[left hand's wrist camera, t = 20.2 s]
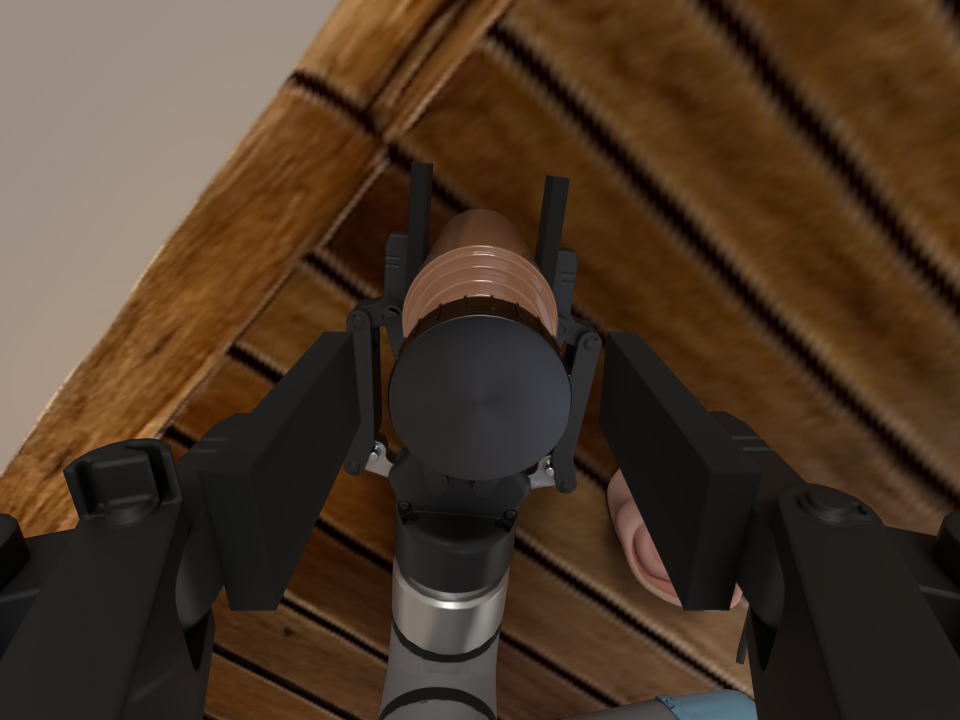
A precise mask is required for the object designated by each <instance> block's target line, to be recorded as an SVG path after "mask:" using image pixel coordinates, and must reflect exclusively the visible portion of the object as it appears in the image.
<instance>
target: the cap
mask: <svg viewBox="0 0 960 720" xmlns="http://www.w3.org/2000/svg"><path fill="white" fill-rule="evenodd" d="M561 354H562V352H561V350H560V347H559V345H558V343H557V340H556V338H555V336H554V335H551V334H550V332H549V331H548V329H547V328H546V327H545V326H544V325H543V323H542V322H541V319H540V317H539V316H537V317H535V316H534V315H533V314H532V313H530V312H529V311H527V310H526V309H524V308H523V307H520V306H519V303H517V302H516V303H515V304H514V303H512V302H509V301H506V300H503V299H498V298H494V296H493V295H490V297H481V296H479V297H467V295H466V296H464V298H462V299H457V300H454V301H451V302H448V303H446V304H443V305H442V303H440V304H439V306H438V307H437V308H436V309H434V310H433V311H431V312H430V313H428V314H427V315H426V316H425V317H423V318H421V317H420V318H419V319H418V321H417V324H416V326H415V327H414V328H413V329H412V331H411V332H410V334H409V335H408V337H404V339H403V342H402V344H401V346H400V349H399V351H398V353H397V356H398V359H397V360H396V362H395V365H394V367H393V369H392V372H391V374H390V377H389V380H390V382H389V388H388V406H389V413H390V417H391V420H392V424H393V426H394V428H395V430H396V433H397V435H398V436H399V438H400V439H401V441H402V443H403V444H404V445H405V446H406V448H407V449H408V450H409V451H410V452H411V453H412V454H413V455H414V456H415V457H416V458H417V459H418V460H420V461H421V462H423V463H424V464H425V465H427V466H428V467H430V468H432V469H434V470H436V471H438V472H440V473H442V474H445V475H448V476H451V477H454V478H458V479H464V480H473V481H487V480H496V479H502V478H505V477H509V476H512V475H515V474H517V473H520V472H522V471H524V470H526V469H528V468H530V467H531V466H533V465H535V464H536V463H537V462H539V461H540V460H541V459H543V458H544V457H545V456H546V455H547V454H548V453H549V452H550V451H551V450H552V449H553V447H554V446H555V445H556V444H557V442H558V441H559V439H560V437H561V436H562V434H563V432H564V430H565V428H566V426H567V423H568V420H569V416H570V412H571V405H572V390H571V383H570V379H569V378H571V376H570V373H569V371H568V369H567V366H566V364H565V362H564V359H563V357H561Z"/></svg>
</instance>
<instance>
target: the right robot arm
mask: <svg viewBox="0 0 960 720" xmlns="http://www.w3.org/2000/svg"><path fill="white" fill-rule="evenodd" d="M432 175H433V164H432V163H422V162H411V182H410V205H409V227H408V232H403V231H394V232H392V233H391V234H390V236H389V238H388V240H387V243H386V251H385V255H386V256H385V286H384V295H383V296H380V297H377V298H374V299H363V300H361V301H360V302H359V303H358V304H357V305H356V307H355V308H354V309H353V310H352V311H351V312H350V314H349V315H348V317H347V321H346V324H347V332H353V341H354V352H355V362H356V373H357V383H358V394H359V404H360V414H361V424H360V426H359V428H358V431H357V433H356V435H355V437H354V439H353V442H352V444H351V446H350V449H349V451H348V454H347V457H346V459H345V462H344V470H345V471H346V472H347V473H348V474H350V475H353V476H357V475H360V474H362V473H363V471H364V470H368V471H371V472H374V473H377V474H380V475H383V476H386V477H388V481H389V484H390V486H391V488H392V489H393V491H394V493H395V496H396V516H395V538H394V552H395V557H394V561H393V586H392V625H391V637H390V650H389V660H388V667H387V674H386V679H385V685H384V690H383V696H382V701H381V706H380V712H379V718H378V720H497V707H496V660H497V651H498V641H499V632H500V627H501V622H502V616H503V612H504V606H505V600H506V593H507V587H508V580H509V572H510V562H511V559H512V553H513V546H514V539H515V533H516V526H517V520H518V513H519V509H520V506H521V504H522V503H523V502H524V500H525V499H526V498H527V497H528V496H529V494H530V491H531V489H536V488H542V487H548V486H554V485H556V488H557V490H558V491H559V492H561V493H570V492H572V491H574V490H575V488H576V486H577V482H576V475H575V469H574V463H573V456H574V452H575V448H576V444H577V440H578V436H579V432H580V428H581V424H582V420H583V416H584V412H585V408H586V405H587V401H588V397H589V393H590V389H591V385H592V381H593V377H594V373H595V369H596V365H597V361H598V357H599V353H600V349H601V344H602V341H601V338H600V336H599V335H598V333H597V332H596V331H595V329H594V328H593V326H592V325H591V323H590V322H589V321H588V320H585V319H580V318H578V317H575V316H573V315H572V314H571V304H572V298H573V292H574V286H575V280H576V274H577V268H578V260H577V255H576V252H575V251H574V250H573V249H572V248H564V247H559V246H560V240H561V233H562V227H563V220H564V214H565V207H566V200H567V194H568V187H569V181H570V179H569V178H564V177H557V176H548V175H546V181H545V189H544V196H543V203H542V211H541V218H540V225H539V233H538V240H537V247H536V255H535V261H536V263H537V264H538V266H539V268H540V270H541V272H542V273H543V275H544V277H545V279H546V281H547V282H548V284H549V286H550V288H551V291H552V293H553V295H554V299H555V302H556V306H557V313H558V326H557V335H556V340H557V343H558V345H559V347H560V348H561V346H562V344H563V342H566V343H567V347H566V352H565V356H564V362H565V364H566V366H567V369H568V371H569V373H570V376H571V378H569V379H570V383H571V390H572V405H571V412H570V416H569V420H568V423H567V426H566V428H565V430H564V432H563V434H562V436H561V437H560V439H559V441H558V442H557V444H556V445H555V446H554V447H553V449H552V450H551V451H550V452H549V453H548V454H547V455H546V456H545V457H544V458H543V459H541V460H540V461H539V462H537V463H536V464H535V465H533V466H531V467H530V468H528V469H526V470H524V471H522V472H520V473H517V474H515V475H512V476H509V477H505V478H502V479H496V480H487V481H473V480H464V479H458V478H454V477H451V476H448V475H445V474H442V473H440V472H438V471H436V470H434V469H432V468H430V467H428V466H427V465H425V464H424V463H423V462H421V461H420V460H418V459H417V458H416V457H415V456H414V455H413V454H412V453H411V452H410V451H409V450H408V449H407V448H406V446H405V447H404V448H403V449H402V450H401V451H400V452H399V453H398V454H397V455H396V456H395V455H393V454H392V453H390V451H389V449H388V439H387V438H386V437H385V434H384V433H382V432H379V430H380V426H381V420H382V400H381V366H380V332H379V326H382V325H385V326H386V330H387V334H388V337H389V341H390V344H391V348H392V351H393V355H394V359H395V362H396V360H397V359H398V356H397V353H398V351H399V349H400V346H401V344H402V342H403V339H404V336H403V327H402V312H403V305H404V302H405V298H406V295H407V293H408V290H409V288H410V286H411V284H412V282H413V280H414V279H415V277H416V275H417V273H418V271H419V270H420V268H421V266H422V264H423V262H424V261H425V259H426V257H427V255H428V243H429V226H430V209H431V192H432ZM557 720H758V719H757V712H756V705H755V703H754V702H753V701H752V700H751V699H750V698H748V697H747V696H746V695H744V694H742V693H740V692H738V691H734V690H728V689H726V690H718V691H711V692H704V693H697V694H689V695H682V696H675V697H668V696H665V695H662V696H661V695H658V696H656V697H655V699H651V700H646V701H642V702H637V703H633V704H628V705H624V706H619V707H615V708H611V709H606V710H602V711H597V712H593V713H588V714H584V715H579V716H575V717H570V718H566V719H557Z"/></svg>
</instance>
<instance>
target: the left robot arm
mask: <svg viewBox="0 0 960 720" xmlns="http://www.w3.org/2000/svg"><path fill="white" fill-rule="evenodd" d="M360 424H361V414H360V404H359V394H358V383H357V373H356V362H355V352H354V341H353V332H324V333H323V334H322V335H321V336H320V337H319V338H318V339H317V340H316V342H315V343H314V344H313V345H312V346H311V347H310V348H309V349H308V350H307V351H306V353H305V354H304V355H303V356H302V357H301V358H300V359H299V360H298V361H297V362H296V364H295V365H294V366H293V367H292V368H291V369H290V370H289V371H288V372H287V373H286V375H285V376H284V377H283V378H282V379H281V380H280V381H279V382H278V383H277V384H276V386H275V387H274V388H273V389H272V390H271V391H270V392H269V393H268V394H267V395H266V397H265V398H264V399H263V400H262V401H261V402H260V403H259V404H258V405H257V406H256V408H255V409H254V410H253V411H252V412H251V413H235V414H234V415H232V416H230V417H228V418H226V419H224V420H223V421H221V422H219V423H217V424H215V425H214V426H213V427H212V428H211V429H210V430H209V431H208V432H207V433H206V434H205V435H204V436H203V437H202V438H201V441H198V442H197V443H196V444H195V445H194V446H193V447H192V448H191V449H190V450H189V453H186V454H185V455H184V456H183V457H182V458H181V459H180V460H179V461H178V462H177V463H176V464H175V462H174V458H173V454H172V450H171V446H170V445H169V444H167V443H166V442H164V441H163V440H158V439H151V438H143V439H130V440H126V441H121V442H117V443H112V444H109V445H106V446H103V447H100V448H98V449H95V450H92V451H90V452H88V453H86V454H84V455H83V456H81V457H79V458H77V459H75V460H73V461H72V462H71V463H70V464H69V465H68V466H67V467H66V468H65V469H64V470H63V473H64V476H65V479H66V482H67V484H68V487H69V490H70V493H71V496H72V499H73V502H74V505H75V507H76V510H77V513H78V516H79V519H80V520H79V522H78V523H77V525H76V527H75V529H70V530H65V531H60V532H55V533H50V534H44V535H39V536H34V537H29V538H24V537H23V534H22V532H21V529H20V527H19V524H18V522H17V519H15V518H14V517H12V516H10V515H9V514H0V720H203V714H204V706H205V699H206V692H207V685H208V678H209V671H210V664H211V657H212V650H213V643H214V636H215V629H216V628H215V621H214V616H213V612H212V608H211V605H212V604H213V602H214V600H215V599H216V597H217V595H218V594H219V592H220V590H221V589H222V587H223V585H225V589H226V594H227V598H228V602H229V606H230V610H276V609H277V607H278V605H279V603H280V600H281V598H282V596H283V594H284V592H285V589H286V587H287V585H288V583H289V581H290V578H291V576H292V574H293V572H294V570H295V567H296V565H297V563H298V561H299V558H300V556H301V554H302V552H303V550H304V547H305V545H306V543H307V541H308V539H309V536H310V534H311V532H312V530H313V528H314V525H315V523H316V521H317V519H318V517H319V514H320V512H321V510H322V508H323V506H324V503H325V501H326V499H327V497H328V495H329V492H330V490H331V488H332V486H333V484H334V481H335V479H336V477H337V475H338V473H339V470H340V468H341V466H342V464H343V462H344V459H345V457H346V455H347V453H348V451H349V448H350V446H351V444H352V442H353V439H354V437H355V435H356V433H357V431H358V428H359V426H360ZM599 424H600V426H601V428H602V431H603V433H604V435H605V437H606V439H607V442H608V444H609V446H610V448H611V451H612V453H613V455H614V457H615V459H616V462H617V464H618V466H619V468H620V470H621V473H622V475H623V477H624V479H625V481H626V484H627V486H628V488H629V490H630V492H631V495H632V497H633V499H634V501H635V503H636V506H637V508H638V510H639V512H640V514H641V517H642V519H643V521H644V523H645V525H646V528H647V530H648V532H649V534H650V536H651V539H652V541H653V543H654V545H655V547H656V550H657V552H658V554H659V556H660V558H661V561H662V563H663V565H664V567H665V570H666V572H667V574H668V576H669V578H670V581H671V583H672V585H673V587H674V589H675V592H676V594H677V596H678V598H679V600H680V603H681V605H682V607H683V609H684V610H730V606H731V602H732V598H733V594H734V589H735V585H736V583H737V584H738V586H739V588H740V589H741V591H742V593H743V594H744V596H745V598H746V599H747V601H748V603H749V608H748V612H747V616H746V619H745V623H744V627H743V631H742V635H741V639H740V643H739V647H738V651H737V657H736V663H740V664H744V660H745V656H746V653H747V652H748V656H749V663H750V670H751V677H752V684H753V691H754V698H755V705H756V712H757V719H758V720H960V511H953V512H952V513H950V514H948V515H947V516H945V517H944V519H943V522H942V524H941V527H940V529H939V532H938V534H937V536H934V535H929V534H923V533H918V532H913V531H908V530H902V529H897V528H892V527H887V526H884V524H883V522H882V521H881V519H880V518H879V516H878V515H877V514H876V513H875V512H874V511H873V510H872V509H871V508H870V507H869V506H867V505H866V504H864V503H863V502H861V501H860V500H858V499H857V498H855V497H853V496H851V495H849V494H846V493H844V492H842V491H839V490H837V489H834V488H830V487H826V486H822V485H819V484H810V483H806V482H805V481H804V480H803V479H802V478H801V477H800V476H799V475H798V474H797V473H796V472H795V471H794V470H793V469H792V468H791V467H790V466H789V465H788V464H787V463H786V462H785V461H784V460H783V459H782V458H781V457H780V456H779V455H778V454H777V453H776V452H775V451H771V447H770V446H769V445H768V444H767V443H766V442H765V441H764V440H763V439H760V436H759V435H758V434H756V433H755V432H754V431H753V430H752V429H751V428H750V427H749V426H748V425H747V424H746V423H745V422H743V421H741V420H739V419H737V418H736V417H734V416H732V415H730V414H728V413H726V412H708V411H707V410H706V409H705V408H704V406H703V405H702V404H701V403H700V402H699V401H698V400H697V399H696V398H695V397H694V395H693V394H692V393H691V392H690V391H689V390H688V389H687V388H686V387H685V386H684V384H683V383H682V382H681V381H680V380H679V379H678V378H677V377H676V376H675V375H674V373H673V372H672V371H671V370H670V369H669V368H668V367H667V366H666V365H665V364H664V362H663V361H662V360H661V359H660V358H659V357H658V356H657V355H656V354H655V353H654V351H653V350H652V349H651V348H650V347H649V346H648V345H647V344H646V343H645V342H644V340H643V339H642V338H641V337H640V336H639V335H638V334H637V333H636V332H607V341H606V352H605V362H604V373H603V383H602V394H601V404H600V414H599Z"/></svg>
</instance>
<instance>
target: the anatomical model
mask: <svg viewBox="0 0 960 720" xmlns="http://www.w3.org/2000/svg"><path fill="white" fill-rule="evenodd" d="M607 499H608V505H609V510H610V514H611V518H612V522H613V525H614V528H615V531H616V533H617V536H618V538H619V540H620V542H621V544H622V548H623V551H624V554H625V558H626V560H627V563H628V566H629V568H630V570H631V571H632V573H633V575H634V576H635V578H636V579H637V580H638V581H639V582H640V583H641V584H642V585H643V586H644V587H645V588H646V589H647V590H649V591H650V592H651V593H653V594H655V595H656V596H658V597H660V598H661V599H663V600H665V601H667V602H670V603H672V604H675V605H678V606H681V607H682V605H681V603H680V600H679V598H678V596H677V594H676V592H675V589H674V587H673V585H672V583H671V581H670V578H669V576H668V574H667V572H666V570H665V567H664V565H663V563H662V561H661V558H660V556H659V554H658V552H657V550H656V547H655V545H654V543H653V541H652V539H651V536H650V534H649V532H648V530H647V528H646V525H645V523H644V521H643V519H642V517H641V514H640V512H639V510H638V508H637V506H636V503H635V501H634V499H633V497H632V495H631V492H630V490H629V488H628V486H627V484H626V481H625V479H624V477H623V475H622V473H621V470H620V468H619V469H618V470H617V472H616V473H615V474H614V476H613V477H612V479H611V481H610V483H609V485H608V489H607ZM741 595H742V591H741V589H740V588H739V586H738V584H737V583H736V585H735V589H734V594H733V598H732V602H731V606H730V608H732V607H733V606H735V605H736V604H737V603H738V601H739V600H740V598H741ZM703 611H722V610H703Z"/></svg>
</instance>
